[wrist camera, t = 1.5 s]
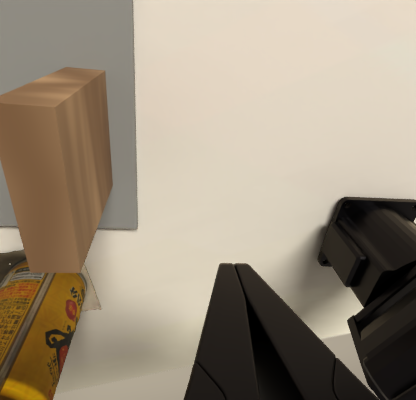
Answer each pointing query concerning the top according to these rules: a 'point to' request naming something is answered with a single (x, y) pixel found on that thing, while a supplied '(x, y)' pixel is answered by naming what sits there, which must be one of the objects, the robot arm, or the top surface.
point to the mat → (78, 58)
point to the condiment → (37, 325)
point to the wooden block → (57, 164)
